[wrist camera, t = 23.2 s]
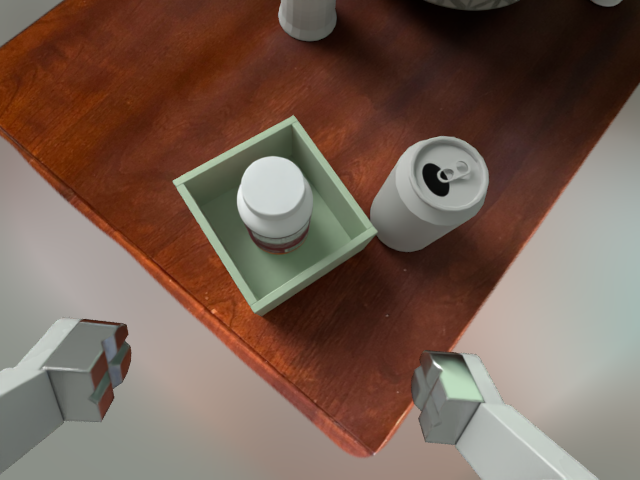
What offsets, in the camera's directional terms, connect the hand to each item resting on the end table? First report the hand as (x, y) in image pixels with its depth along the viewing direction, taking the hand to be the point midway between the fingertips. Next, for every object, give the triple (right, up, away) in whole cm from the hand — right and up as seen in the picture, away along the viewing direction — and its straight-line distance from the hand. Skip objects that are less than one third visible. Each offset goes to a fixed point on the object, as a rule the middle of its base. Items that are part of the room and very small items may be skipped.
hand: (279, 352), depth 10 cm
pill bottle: (-3, +4, +27) cm, 27 cm away
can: (+10, +5, +28) cm, 31 cm away
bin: (-3, +4, +27) cm, 27 cm away
